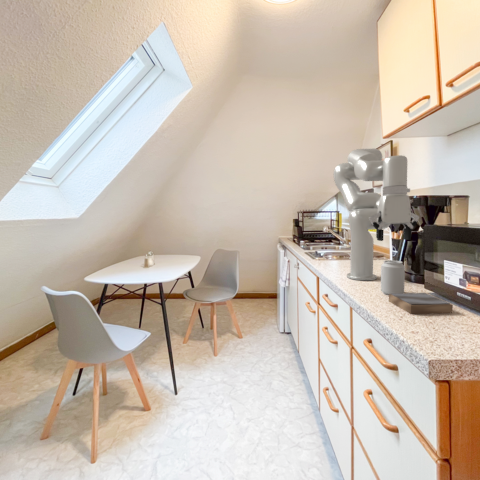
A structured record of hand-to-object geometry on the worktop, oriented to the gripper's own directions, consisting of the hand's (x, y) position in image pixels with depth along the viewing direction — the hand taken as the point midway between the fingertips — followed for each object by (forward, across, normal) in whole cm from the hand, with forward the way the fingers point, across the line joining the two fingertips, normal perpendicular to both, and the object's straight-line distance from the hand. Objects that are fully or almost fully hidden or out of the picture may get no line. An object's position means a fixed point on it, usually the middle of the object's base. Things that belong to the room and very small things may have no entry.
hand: (393, 240), depth 99 cm
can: (+20, 0, 0) cm, 20 cm away
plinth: (+20, 0, +15) cm, 25 cm away
